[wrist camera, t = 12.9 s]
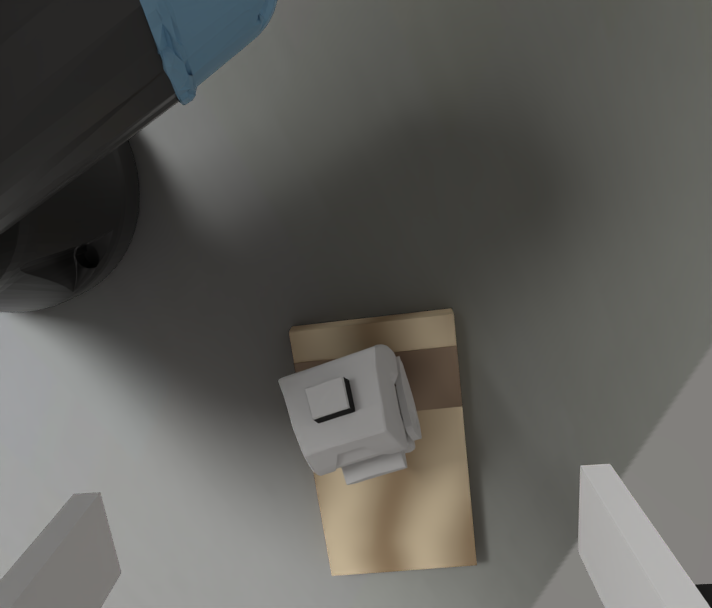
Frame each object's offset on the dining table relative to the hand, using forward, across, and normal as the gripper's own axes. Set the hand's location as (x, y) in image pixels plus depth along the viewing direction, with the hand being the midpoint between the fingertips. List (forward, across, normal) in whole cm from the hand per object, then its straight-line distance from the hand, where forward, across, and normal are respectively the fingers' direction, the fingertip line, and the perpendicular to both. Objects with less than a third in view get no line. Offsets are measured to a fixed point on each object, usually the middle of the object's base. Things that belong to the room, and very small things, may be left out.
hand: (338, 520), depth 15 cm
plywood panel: (+20, +1, -10) cm, 22 cm away
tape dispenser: (+19, 0, -5) cm, 19 cm away
